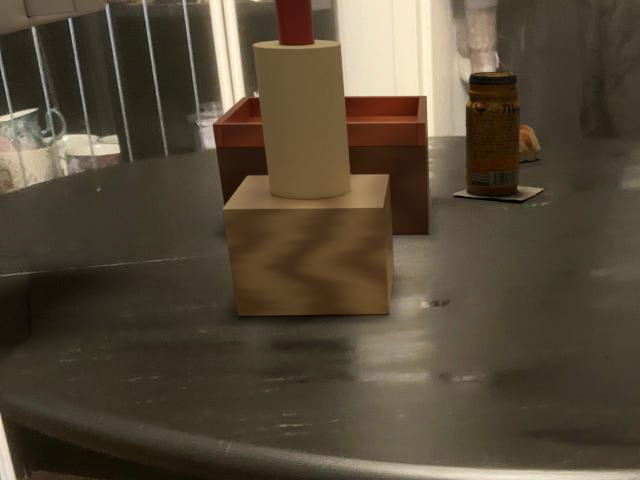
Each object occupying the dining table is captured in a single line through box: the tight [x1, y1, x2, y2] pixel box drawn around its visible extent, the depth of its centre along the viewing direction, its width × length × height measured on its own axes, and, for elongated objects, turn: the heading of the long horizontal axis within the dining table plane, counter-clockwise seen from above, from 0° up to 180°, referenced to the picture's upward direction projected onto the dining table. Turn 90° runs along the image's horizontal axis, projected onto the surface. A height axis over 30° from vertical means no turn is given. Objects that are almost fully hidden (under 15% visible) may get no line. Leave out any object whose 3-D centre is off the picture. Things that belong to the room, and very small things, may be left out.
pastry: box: [519, 124, 541, 163], centre depth 127 cm, size 9×7×4 cm
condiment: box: [452, 71, 544, 201], centre depth 109 cm, size 7×8×12 cm
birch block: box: [221, 174, 395, 317], centre depth 80 cm, size 12×12×8 cm
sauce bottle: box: [252, 0, 351, 199], centre depth 74 cm, size 6×6×13 cm
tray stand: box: [212, 95, 431, 235], centre depth 102 cm, size 20×18×10 cm
